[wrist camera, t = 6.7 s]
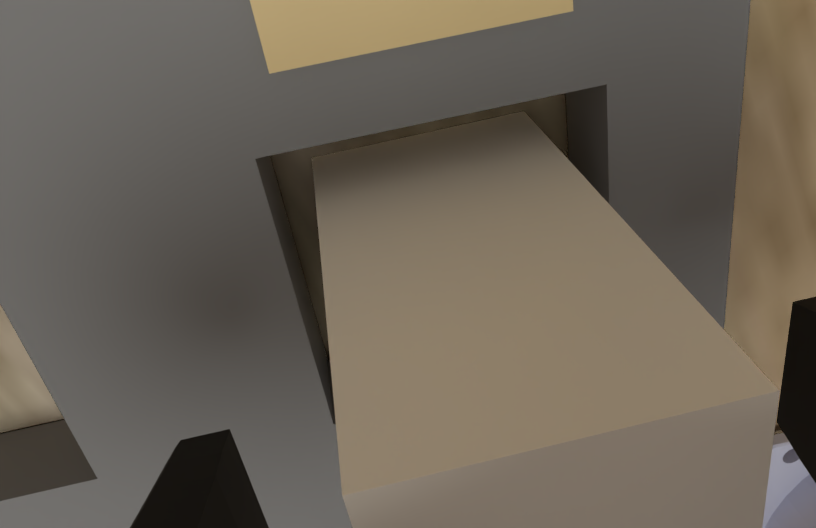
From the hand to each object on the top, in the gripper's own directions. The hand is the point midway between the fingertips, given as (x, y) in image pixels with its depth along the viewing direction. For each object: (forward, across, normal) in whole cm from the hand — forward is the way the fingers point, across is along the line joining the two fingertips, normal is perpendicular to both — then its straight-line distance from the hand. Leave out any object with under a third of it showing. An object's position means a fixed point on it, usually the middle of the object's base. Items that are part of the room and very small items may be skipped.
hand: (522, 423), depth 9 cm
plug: (+6, 0, 0) cm, 6 cm away
